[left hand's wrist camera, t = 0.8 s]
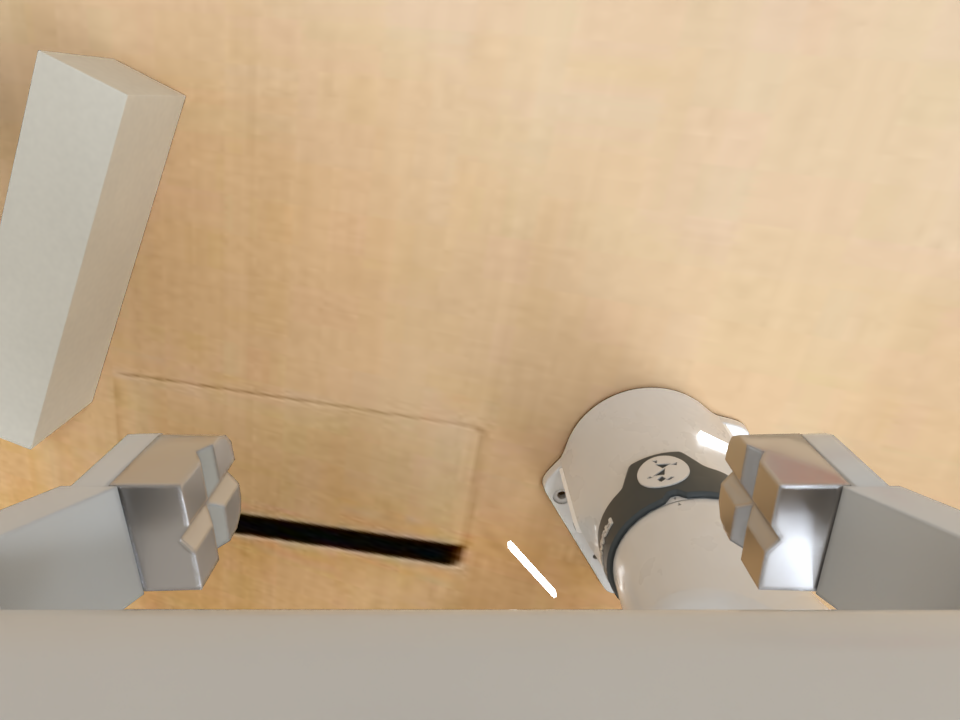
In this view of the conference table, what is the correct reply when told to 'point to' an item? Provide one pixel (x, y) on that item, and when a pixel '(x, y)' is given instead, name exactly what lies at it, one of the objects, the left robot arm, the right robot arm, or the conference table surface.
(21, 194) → the bar
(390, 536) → the conference table surface
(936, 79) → the conference table surface
